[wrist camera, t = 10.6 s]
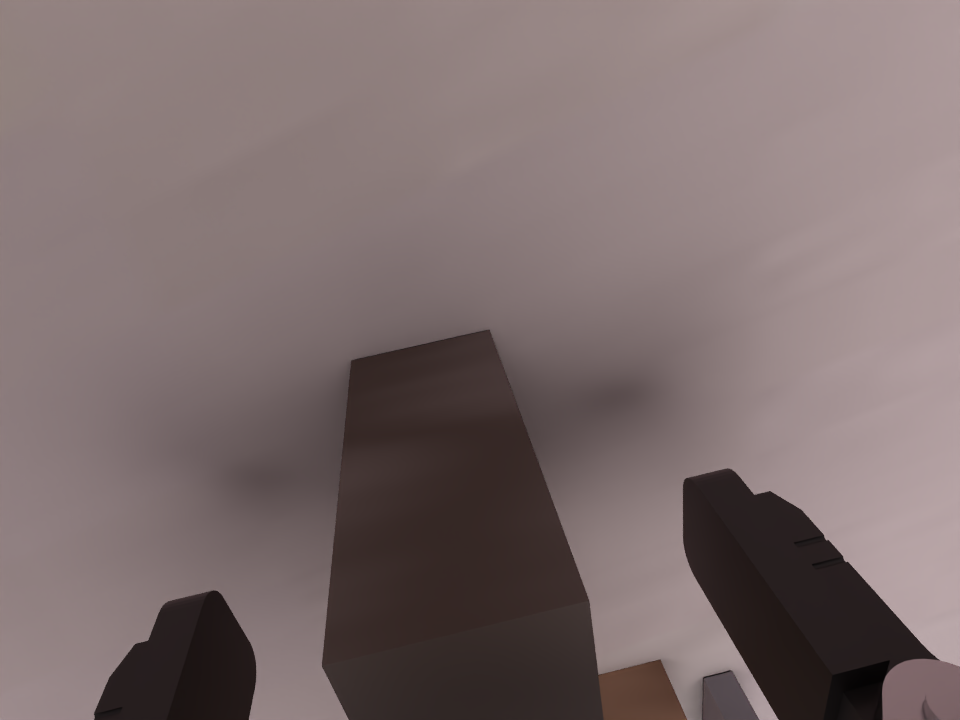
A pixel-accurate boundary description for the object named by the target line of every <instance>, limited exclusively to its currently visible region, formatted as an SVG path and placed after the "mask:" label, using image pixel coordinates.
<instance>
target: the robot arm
mask: <svg viewBox="0 0 960 720" xmlns="http://www.w3.org/2000/svg"><path fill="white" fill-rule="evenodd" d="M683 543H684V549H685V553H686V557H687V560H688V563H689V565H690V568H691V570H692V572H693V574H694V576H695V578H696V580H697V582H698V583H699V585H700V587H701V588H702V590H703V592H704V593H705V595H706V597H707V599H708V600H709V602H710V604H711V605H712V607H713V609H714V611H715V612H716V614H717V616H718V617H719V619H720V621H721V622H722V624H723V626H724V628H725V629H726V631H727V633H728V634H729V636H730V638H731V639H732V641H733V643H734V645H735V646H736V648H737V650H738V651H739V653H740V655H741V656H742V658H743V660H744V662H745V663H746V665H747V667H748V668H749V670H750V672H751V673H752V675H753V677H754V679H755V680H756V682H757V684H758V685H759V687H760V689H761V691H762V692H763V694H764V696H765V697H766V699H767V701H768V702H769V704H770V706H771V708H772V709H773V711H774V713H775V714H776V716H777V718H778V719H779V720H960V667H959V666H956V665H953V664H950V663H947V662H943V661H940V660H939V659H937V658H936V657H935V656H934V655H933V654H931V653H930V652H929V651H928V650H927V649H926V648H925V647H924V646H923V645H922V644H921V643H920V641H919V640H918V639H917V638H916V637H915V636H914V635H913V634H912V633H911V631H910V630H909V629H908V628H907V627H906V626H905V625H904V624H903V622H902V621H901V620H900V619H899V618H898V617H897V616H896V615H895V614H894V612H893V611H892V610H891V609H890V608H889V607H888V606H887V605H886V604H885V602H884V601H883V600H882V599H881V598H880V597H879V596H878V595H877V594H876V592H875V591H874V590H873V589H872V588H871V587H870V586H869V585H868V584H867V582H866V581H865V580H864V579H863V578H862V577H861V576H860V575H859V574H858V572H857V571H856V570H855V569H854V568H853V567H852V566H851V565H850V564H849V562H845V561H844V559H843V556H842V555H841V553H840V552H839V551H838V550H837V549H836V548H835V547H834V546H833V545H832V543H831V542H830V541H829V540H827V541H826V540H825V538H824V535H823V533H822V532H821V531H820V530H819V529H818V528H817V527H816V526H815V525H814V523H813V522H812V521H811V520H810V519H809V518H808V517H807V516H806V515H805V513H804V512H803V511H802V510H801V509H799V508H797V507H796V506H794V505H792V504H791V503H789V502H787V501H786V500H784V499H782V498H781V497H779V496H777V495H776V494H774V493H772V492H771V491H769V492H765V493H761V494H757V495H754V494H753V493H752V492H751V490H750V489H749V488H748V487H747V486H746V484H745V483H744V482H743V481H742V479H741V478H740V477H739V476H738V475H737V474H736V473H735V472H734V471H733V470H731V469H728V468H727V469H723V470H719V471H715V472H711V473H706V474H702V475H698V476H694V477H690V478H686V479H685V480H684V484H683ZM255 683H256V662H255V656H254V652H253V649H252V646H251V644H250V642H249V640H248V639H247V637H246V635H245V634H244V632H243V630H242V629H241V627H240V625H239V623H238V622H237V620H236V618H235V617H234V615H233V613H232V612H231V610H230V608H229V606H228V605H227V603H226V601H225V600H224V598H223V596H222V595H221V594H220V593H219V592H218V591H209V592H205V593H201V594H197V595H193V596H189V597H185V598H180V599H176V600H172V601H168V602H167V603H165V604H164V605H163V607H162V608H161V610H160V612H159V614H158V617H157V619H156V622H155V624H154V627H153V630H152V632H151V635H150V637H149V640H148V641H145V642H141V643H137V644H135V645H134V646H133V648H132V649H131V650H130V652H129V653H128V654H127V655H126V657H125V658H124V659H123V661H122V662H121V663H120V665H119V666H118V667H117V668H116V670H115V671H114V672H113V674H112V675H111V676H110V678H109V680H108V682H107V684H106V687H105V689H104V691H103V694H102V696H101V698H100V701H99V703H98V706H97V708H96V710H95V713H94V715H95V719H94V720H249V715H250V710H251V705H252V700H253V694H254V689H255Z"/></svg>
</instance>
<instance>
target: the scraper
mask: <svg viewBox="0 0 960 720" xmlns="http://www.w3.org/2000/svg"><path fill="white" fill-rule="evenodd" d="M322 667H323V669H324V671H325V673H326V675H327V677H328V679H329V681H330V683H331V685H332V687H333V689H334V691H335V693H336V695H337V697H338V699H339V701H340V703H341V705H342V707H343V709H344V711H345V713H346V715H347V717H348V719H349V720H687V718H686V716H685V714H684V712H683V709H682V707H681V705H680V703H679V700H678V698H677V696H676V694H675V692H674V689H673V687H672V685H671V683H670V680H669V678H668V676H667V674H666V671H665V669H664V667H663V665H662V663H661V660H657V661H653V662H649V663H645V664H641V665H637V666H633V667H629V668H625V669H621V670H617V671H613V672H609V673H605V674H601V675H598V669H597V661H596V653H595V644H594V636H593V628H592V620H591V612H590V603H589V599H588V596H587V593H586V591H585V588H584V585H583V583H582V580H581V577H580V574H579V572H578V569H577V566H576V564H575V561H574V558H573V555H572V553H571V550H570V547H569V545H568V542H567V539H566V537H565V534H564V531H563V528H562V526H561V523H560V520H559V518H558V515H557V512H556V509H555V507H554V504H553V501H552V499H551V496H550V493H549V490H548V488H547V485H546V482H545V480H544V477H543V474H542V471H541V469H540V466H539V463H538V461H537V458H536V455H535V452H534V450H533V447H532V444H531V442H530V439H529V436H528V433H527V431H526V428H525V425H524V423H523V420H522V417H521V414H520V412H519V409H518V406H517V404H516V401H515V398H514V395H513V393H512V390H511V387H510V385H509V382H508V379H507V376H506V374H505V371H504V368H503V366H502V363H501V360H500V357H499V355H498V352H497V349H496V347H495V344H494V341H493V338H492V336H491V333H490V330H487V331H483V332H478V333H474V334H469V335H465V336H460V337H456V338H451V339H447V340H442V341H438V342H433V343H429V344H424V345H420V346H415V347H411V348H406V349H402V350H397V351H393V352H388V353H384V354H379V355H375V356H371V357H366V358H362V359H357V360H353V361H351V370H350V380H349V391H348V401H347V411H346V422H345V432H344V442H343V453H342V463H341V474H340V484H339V494H338V505H337V515H336V525H335V536H334V546H333V557H332V567H331V577H330V588H329V598H328V608H327V619H326V629H325V639H324V650H323V660H322Z"/></svg>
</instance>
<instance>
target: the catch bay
mask: <svg viewBox="0 0 960 720" xmlns="http://www.w3.org/2000/svg"><path fill="white" fill-rule="evenodd" d="M703 720H759V719H758V717H757V715H756V713H755V711H754V710H753V708H752V706H751V704H750V702H749V701H748V699H747V697H746V695H745V693H744V692H743V690H742V688H741V686H740V684H739V683H738V681H737V679H736V677H735V675H734V674H733V672H732V671H731V672H727V673H723V674H719V675H715V676H711V677H707V678H704V689H703Z"/></svg>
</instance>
